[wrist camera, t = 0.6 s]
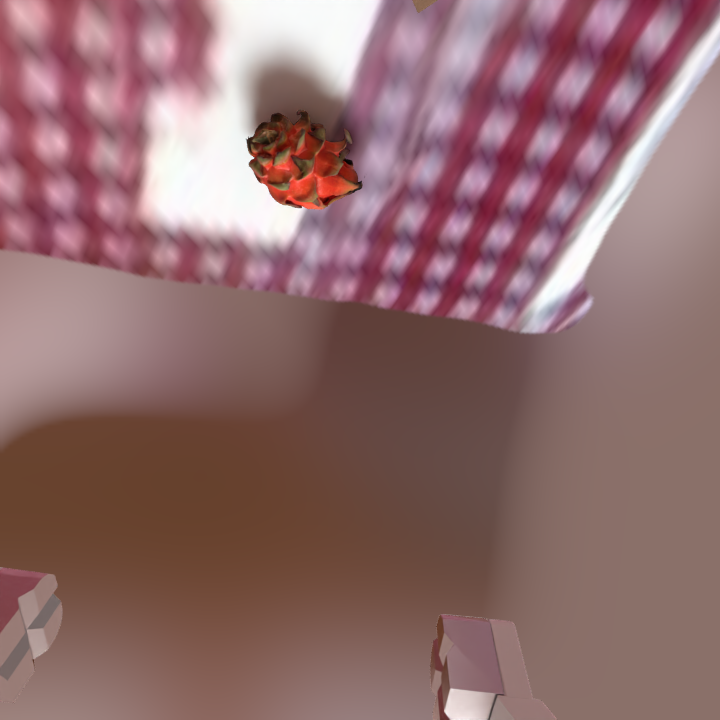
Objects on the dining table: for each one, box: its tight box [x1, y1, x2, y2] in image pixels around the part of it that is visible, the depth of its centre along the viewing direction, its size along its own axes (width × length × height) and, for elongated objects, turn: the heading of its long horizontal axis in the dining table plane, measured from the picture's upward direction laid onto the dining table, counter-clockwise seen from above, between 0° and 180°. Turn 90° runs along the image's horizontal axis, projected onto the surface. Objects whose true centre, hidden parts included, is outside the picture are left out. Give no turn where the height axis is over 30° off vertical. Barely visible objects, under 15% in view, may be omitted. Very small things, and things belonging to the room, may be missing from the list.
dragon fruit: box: [246, 110, 363, 209], centre depth 52 cm, size 8×8×12 cm
